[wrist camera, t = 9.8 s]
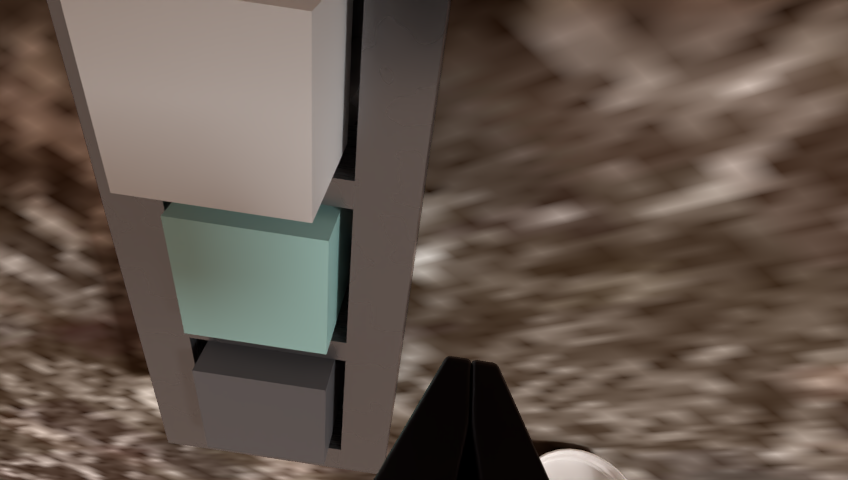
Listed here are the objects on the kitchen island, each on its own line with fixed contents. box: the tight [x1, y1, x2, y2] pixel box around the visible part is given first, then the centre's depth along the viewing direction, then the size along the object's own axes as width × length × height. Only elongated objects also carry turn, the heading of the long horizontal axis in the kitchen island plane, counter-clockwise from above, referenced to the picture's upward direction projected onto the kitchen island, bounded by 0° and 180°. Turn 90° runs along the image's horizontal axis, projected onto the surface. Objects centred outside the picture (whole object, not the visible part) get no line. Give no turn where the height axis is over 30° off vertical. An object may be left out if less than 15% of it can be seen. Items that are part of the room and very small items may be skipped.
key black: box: [192, 340, 346, 465], centre depth 24 cm, size 5×5×4 cm
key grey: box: [60, 0, 353, 223], centre depth 14 cm, size 5×5×4 cm
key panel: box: [47, 0, 451, 474], centre depth 18 cm, size 10×30×4 cm, turn 173°
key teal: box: [161, 202, 353, 354], centre depth 20 cm, size 5×5×4 cm
